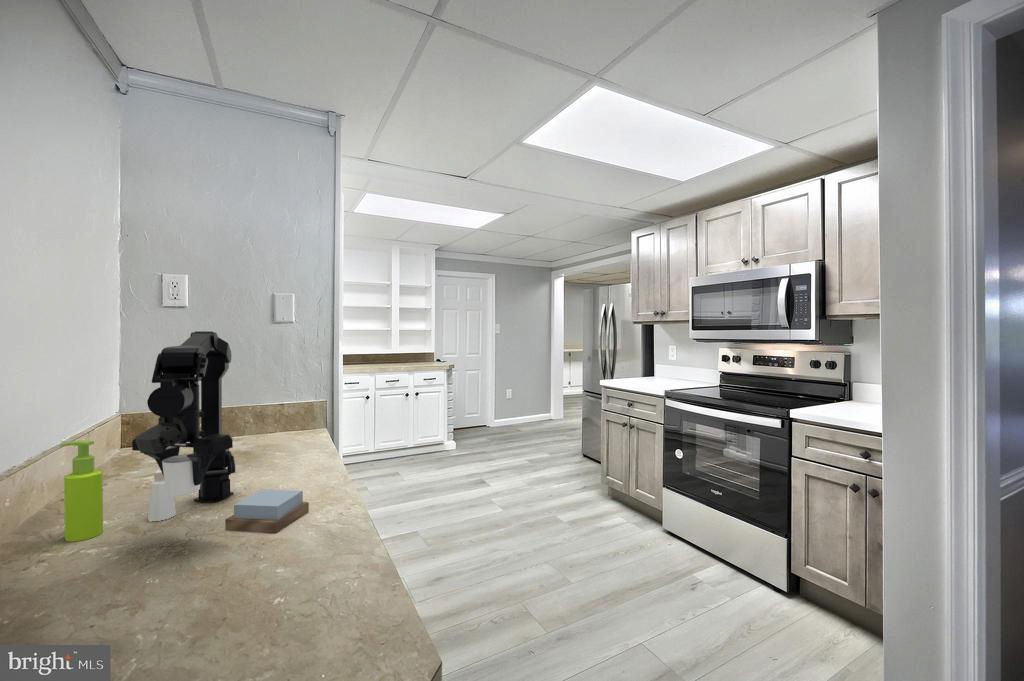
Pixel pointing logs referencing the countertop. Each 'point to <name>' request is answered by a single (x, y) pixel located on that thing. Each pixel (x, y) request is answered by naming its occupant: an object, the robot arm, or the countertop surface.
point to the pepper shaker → (160, 500)
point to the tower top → (268, 504)
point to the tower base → (266, 521)
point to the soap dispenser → (83, 496)
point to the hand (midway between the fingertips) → (183, 484)
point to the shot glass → (179, 476)
